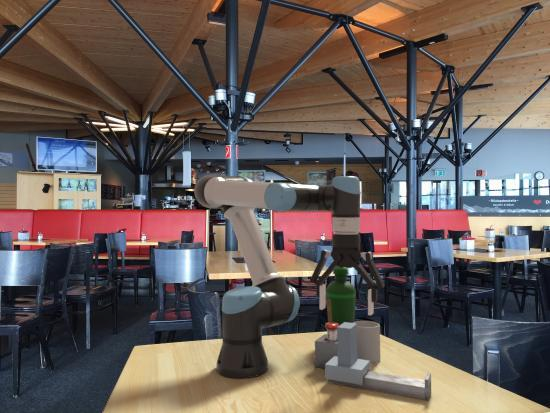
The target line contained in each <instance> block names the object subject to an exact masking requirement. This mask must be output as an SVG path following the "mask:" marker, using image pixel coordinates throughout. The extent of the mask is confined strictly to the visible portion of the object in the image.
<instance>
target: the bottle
mask: <svg viewBox="0 0 550 413" xmlns="http://www.w3.org/2000/svg"><path fill="white" fill-rule="evenodd" d="M348 269H349V268H346V267H343V268H340V267H339V266H338V267H336V268H335V270H334V271H333V272H332V275H334V281H332V282H331V283H329V284H328V285H327V287H326V308H327V323H329V322H334V323H338V324H339V326H340V325H341V324H343V323H344V322H348V323H354V322H356V321H355V319H356V302H357V301H356V297H357V296H356V295H357V289H356V287H355V286H354V285H353V284H352V282H351V283H350V282H349V281H347V279H348V277H347V275H349V270H348Z"/></svg>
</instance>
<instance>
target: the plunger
mask: <svg viewBox="0 0 550 413" xmlns="http://www.w3.org/2000/svg"><path fill="white" fill-rule="evenodd" d="M324 326H325V329H326V334H327V341H334V342H337V327H338V326H339V324H338V323H334V322H329V323H328V322H325V325H324Z"/></svg>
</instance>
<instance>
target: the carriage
mask: <svg viewBox="0 0 550 413" xmlns="http://www.w3.org/2000/svg"><path fill="white" fill-rule="evenodd" d="M337 340H338V356H334V357H333V358H332V359H331V360H329V361H328V362H327V363H326V364H325V370H324V372H325V373H324V374H325V379H326V380H327V379H331V380H337V381H342V382H348V383H354V384H359V385H362V384H363V376H364V375H365V374H366V372H367V371H371V364H370V361H369V360H362V359H357V323H348V322H344V323H343V324H341V325H340V326H338V327H337Z"/></svg>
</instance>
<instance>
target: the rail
mask: <svg viewBox="0 0 550 413" xmlns="http://www.w3.org/2000/svg"><path fill="white" fill-rule="evenodd" d="M326 382H327V383H329V384H334V385H340V386H346V387H351V388H356V389H362V390H368V391H373V392H379V393H383V394H384V393H385V394H390V395H395V396H400V397H401V396H402V397H406V398H412V399H416V400H417V399H418V400H422V401H423V400H424V401H430V398H431V395H432V373H431V372H427V373H426V375H425V378H424V379H421V378H414V377H408V376H404V375H403V376H402V375H397V374H390V373H383V372H377V371H371V370H370V371H367V372H366V374H365V375H364V376H363V384H362V385H359V384H354V383H348V382H342V381H337V380H331V379H326Z"/></svg>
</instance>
